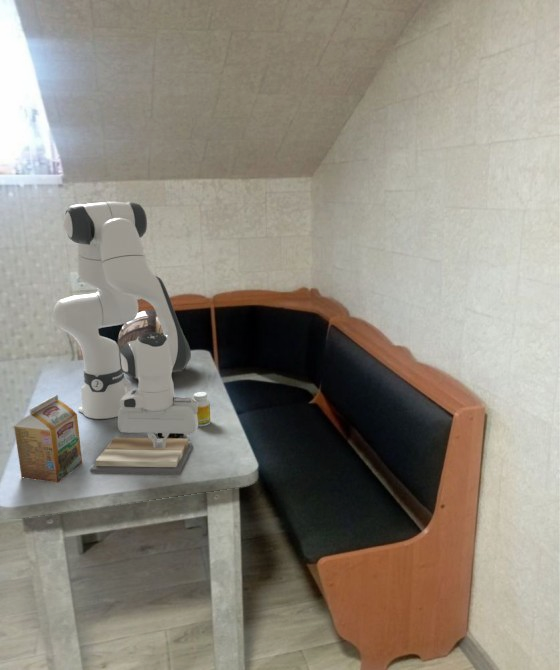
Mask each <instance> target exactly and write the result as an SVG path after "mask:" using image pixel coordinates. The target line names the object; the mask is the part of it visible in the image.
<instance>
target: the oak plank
mask: <svg viewBox="0 0 560 670" xmlns="http://www.w3.org/2000/svg"><path fill="white" fill-rule="evenodd" d="M156 438H157V439H164V438H158V437H156ZM189 443H190V442H189V438H182V437H180V438H167V439H166V447H165V448H154V447H153V442H152V441H151V439H150V438H149V437H113V439H112V440H111V441H110V442H109V444H108V445H107V447H106V448H105V449H125V450H182V454H184V452H185V450H186V448H187V446H188V444H189Z"/></svg>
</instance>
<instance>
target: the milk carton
mask: <svg viewBox="0 0 560 670" xmlns="http://www.w3.org/2000/svg"><path fill="white" fill-rule="evenodd" d="M13 428H14V435H15V441H16V448H17V449H16V450H17V457H18V462H19V470H20V476H21V478H22V477H24V478H23V479H27V478H29V480H34V479H36V480H35V481H42V482H47V483H48V482H50V483H55V484H57V483H59V482H61V481H62V480H63V479H64V478H65V477H67V476H69V475H70V474H71V473H72V472H73V471H75V470H76V469H77V468H78V467H80V466H81V465H83V457H82V456H83V455H82V447H81V446H82V445H81V439H80V438H81V437H80V430H79V421H78V414H77V412H76V411H75V410H73V408H71V407H70V406H69V405H67V404H66V403H65V402H62V401H61V400H60V399H59V397H58V394H55V395H52V396H51V397H49V398H48V399H46V400H44V401H42V402H40V403H39V404H37V405H35V406H33V407H31V408H30V409H29V415H27V416H25V417H23V418H21V419H20V420H19V421H17V423H16V424H15V425H14V426H13Z"/></svg>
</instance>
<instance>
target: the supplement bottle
mask: <svg viewBox="0 0 560 670" xmlns="http://www.w3.org/2000/svg"><path fill="white" fill-rule="evenodd" d="M193 400H195V401H196V402H197V405H198V411H197V418H198V427H207V426H208V425H210V424H211V402H210V400H209V399H208V393H207V392H204V391H198V392H195V393H193Z"/></svg>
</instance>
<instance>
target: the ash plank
mask: <svg viewBox="0 0 560 670" xmlns="http://www.w3.org/2000/svg"><path fill="white" fill-rule="evenodd" d="M182 456H183V454H182V450H125V449H106V448H105V449H103V451H102V453H100V454H99V456H98V457H97V458H96V459H95V463H96V466H124V467H177V465H178V463H179V461H180V459H181V458H182Z"/></svg>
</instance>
